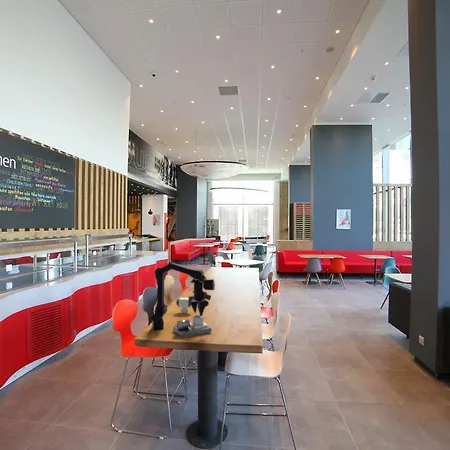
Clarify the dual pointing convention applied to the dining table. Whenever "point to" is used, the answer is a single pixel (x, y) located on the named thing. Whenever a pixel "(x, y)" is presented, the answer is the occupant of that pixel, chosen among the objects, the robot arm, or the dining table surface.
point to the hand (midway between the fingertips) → (198, 314)
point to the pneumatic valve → (183, 304)
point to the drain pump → (197, 320)
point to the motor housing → (190, 329)
